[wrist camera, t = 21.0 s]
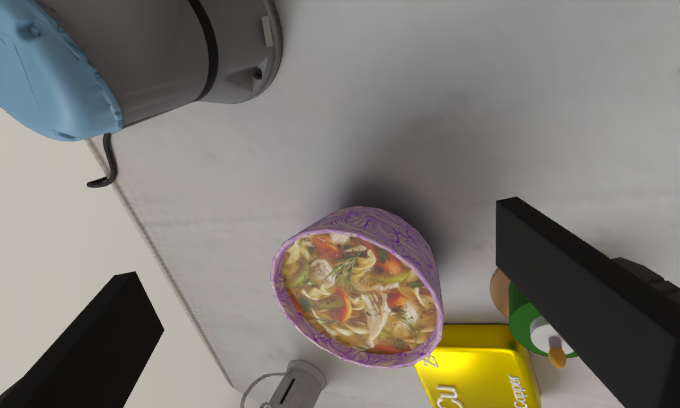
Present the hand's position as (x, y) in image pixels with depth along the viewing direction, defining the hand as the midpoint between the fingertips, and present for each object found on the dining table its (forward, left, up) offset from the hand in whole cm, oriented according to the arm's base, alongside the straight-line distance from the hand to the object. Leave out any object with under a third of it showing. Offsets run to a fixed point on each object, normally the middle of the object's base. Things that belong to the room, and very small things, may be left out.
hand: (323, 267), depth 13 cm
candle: (+11, -24, -27) cm, 38 cm away
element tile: (+2, -39, -28) cm, 48 cm away
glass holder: (-31, -50, -28) cm, 65 cm away
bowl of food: (-9, -19, -28) cm, 35 cm away
